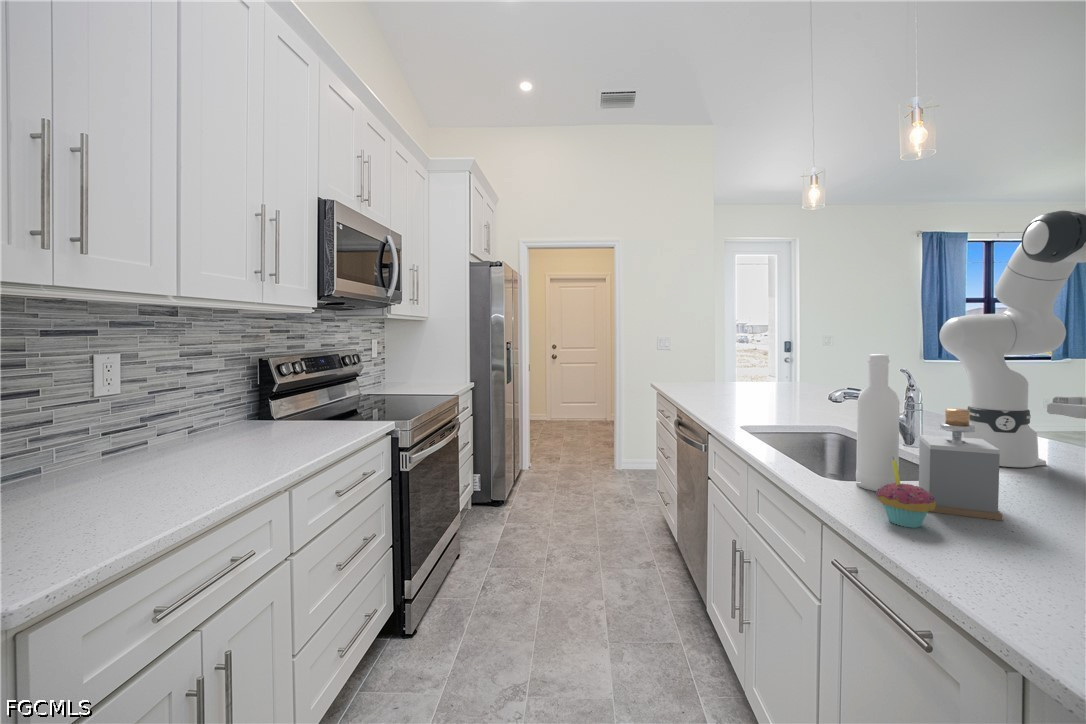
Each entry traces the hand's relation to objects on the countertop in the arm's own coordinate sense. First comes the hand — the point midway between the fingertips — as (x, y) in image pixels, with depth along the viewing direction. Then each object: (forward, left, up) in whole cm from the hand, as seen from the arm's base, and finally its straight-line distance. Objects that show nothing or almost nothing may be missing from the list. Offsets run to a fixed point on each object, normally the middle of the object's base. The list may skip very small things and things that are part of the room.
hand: (1050, 404), depth 84 cm
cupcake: (+11, -22, -22) cm, 33 cm away
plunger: (-3, -12, -20) cm, 24 cm away
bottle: (-11, -24, -22) cm, 34 cm away
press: (-3, -12, -21) cm, 25 cm away
